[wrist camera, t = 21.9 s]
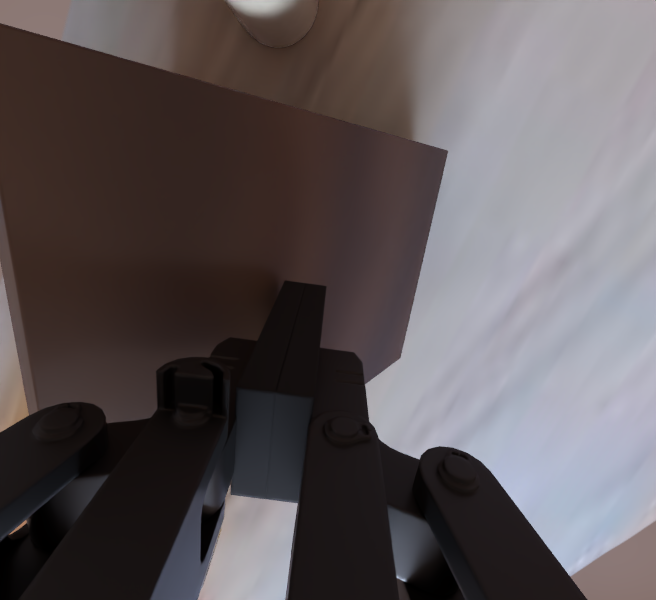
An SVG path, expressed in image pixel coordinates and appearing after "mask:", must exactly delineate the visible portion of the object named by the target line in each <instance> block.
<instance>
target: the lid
mask: <svg viewBox="0 0 656 600" xmlns="http://www.w3.org/2000/svg"><path fill="white" fill-rule="evenodd" d="M447 153H448V151H447V150H444V149H440V148H436V147H433V146H429V145H426V144H422V143H419V142H415V141H412V140H408V139H405V138H401V137H398V136H394V135H391V134H387V133H384V132H380V131H377V130H373V129H370V128H366V127H363V126H359V125H356V124H352V123H349V122H345V121H342V120H338V119H335V118H331V117H328V116H324V115H321V114H317V113H314V112H310V111H307V110H303V109H299V108H296V107H292V106H289V105H285V104H282V103H278V102H275V101H271V100H268V99H264V98H261V97H257V96H254V95H250V94H247V93H243V92H240V91H236V90H233V89H229V88H226V87H222V86H219V85H215V84H212V83H208V82H205V81H201V80H198V79H194V78H191V77H187V76H184V75H180V74H177V73H173V72H170V71H166V70H162V69H159V68H155V67H152V66H148V65H145V64H141V63H138V62H134V61H131V60H127V59H124V58H120V57H117V56H113V55H110V54H106V53H103V52H99V51H96V50H92V49H89V48H85V47H82V46H78V45H75V44H71V43H68V42H64V41H61V40H57V39H53V38H50V37H47V36H43V35H40V34H36V33H32V32H29V31H26V30H22V29H18V28H15V27H11V26H8V25H4V24H1V23H0V261H1V267H2V272H3V277H4V283H5V288H6V293H7V299H8V304H9V310H10V315H11V320H12V326H13V331H14V336H15V342H16V347H17V353H18V358H19V363H20V369H21V374H22V379H23V385H24V390H25V395H26V401H27V406H28V412H29V415H31V414H33V413H35V412H37V411H40V410H42V409H44V408H46V407H50V406H54V405H58V404H61V403H70V402H84V403H91V404H94V405H96V406H98V407H99V408H101V409H103V412H104V414H105V416H106V423H113V422H124V421H135V420H141V419H147V418H150V417H152V416H153V414H154V413H155V411H156V410H157V383H156V370H158V369H159V368H160V367H162V366H163V365H164V364H166V363H169V362H171V361H174V360H176V359H181V358H187V357H206V358H209V357H210V355H211V353H212V351H213V350H214V348H215V347H216V345H217V344H219V343H221V342H223V341H224V340H226V339H228V338H229V337H233V338H241V339H248V340H256V341H257V340H258V338H259V336H260V334H261V332H262V329H263V327H264V325H265V323H266V321H267V318H268V316H269V314H270V312H271V310H272V307H273V305H274V303H275V301H276V299H277V297H278V294H279V292H280V290H281V288H282V286H283V283H284V281H285V280H286V281H293V282H301V283H308V284H316V285H323V286H327V288H326V297H325V306H324V315H323V325H322V334H321V343H320V348H326V349H334V350H341V351H349V352H355V354H356V355H357V356H358V357H359V359H360V360H361V361H362V362H363V370H364V380H365V384H366V383H367V382H369V381H370V380H371V379H373V378H374V377H375V376H377V375H378V374H379V373H381V372H382V371H383V370H385V369H386V368H387V367H389V366H390V365H391V364H393V363H394V362H395V361H397V360H398V359H399V358H400V357H401V353H402V348H403V344H404V340H405V335H406V331H407V327H408V322H409V318H410V314H411V309H412V305H413V301H414V296H415V292H416V288H417V283H418V279H419V275H420V270H421V266H422V262H423V257H424V253H425V249H426V244H427V240H428V236H429V231H430V227H431V223H432V218H433V214H434V210H435V205H436V201H437V197H438V192H439V188H440V184H441V179H442V175H443V171H444V166H445V162H446V158H447ZM230 485H231V482H230ZM230 485H229V486H230Z"/></svg>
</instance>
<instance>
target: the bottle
mask: <svg viewBox="0 0 656 600" xmlns="http://www.w3.org/2000/svg"><path fill="white" fill-rule="evenodd" d="M224 1H225V2H226V4H227V5H228V6H229V8H230V9H231V10H232V12H233V13H234V14H235V16H236V17H237V19H238V20H239V21H240V23H241V24H242V25H243V27H244V28H245V29H246V31H247V32H248V33H249V34H250V35H251V36H252V37H253V38H254V39H255V40H257V41H258V42H260V43H262V44H264V45H267V46H270V47H286V46H290V45H292V44H294V43H296V42H298V41H299V40H300V39H302V38H303V37H304V36H305V35H306V34H307V32H308V31H309V30H310V28H311V26H312V24H313V23H314V20H315V18H316V14H317V11H318V4H319V0H224Z"/></svg>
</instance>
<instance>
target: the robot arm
mask: <svg viewBox="0 0 656 600" xmlns="http://www.w3.org/2000/svg"><path fill="white" fill-rule="evenodd" d="M326 288H327V286H323V285H316V284H308V283H301V282H293V281H286V280H285V281H284V283H283V286H282V288H281V290H280V292H279V294H278V297H277V299H276V301H275V303H274V305H273V307H272V310H271V312H270V314H269V316H268V318H267V321H266V323H265V325H264V327H263V329H262V332H261V334H260V336H259V338H258V340H257V341H256V340H248V339H241V338H233V337H229V338H228V339H226V340H224V341H223V342H221V343H219V344H217V345H216V347H215V348H214V350H213V351H212V353H211V355H210V357H209V358H206V357H187V358H181V359H176V360H174V361H171V362H169V363H166V364H164V365H163V366H162V367H160V368H159V369H158V370H156V383H157V410H156V411H155V413H154V414H153V416H152V417H150V418H147V419H141V420H135V421H124V422H113V423H106V416H105V414H104V412H103V409H101V408H99V407H98V406H96V405H94V404H91V403H84V402H70V403H61V404H58V405H54V406H50V407H46V408H44V409H42V410H40V411H37V412H35V413H33V414H31V415H29V416H27V417H26V418H24V419H22V420H21V421H19V422H17V423H16V424H14V425H12V426H11V427H9V428H7V429H6V430H4V431H2V432H1V433H0V600H197V599H198V596H199V593H200V590H201V587H202V584H203V581H204V578H205V574H206V571H207V568H208V565H209V562H210V559H211V556H212V553H213V550H214V547H215V543H216V540H217V537H218V534H219V531H220V528H221V525H222V522H223V519H224V509H225V497H226V494H227V491H228V488H229V485H230V482H231V495H237V496H245V497H253V498H261V499H269V500H277V501H285V502H293V503H298V506H297V514H296V521H295V528H294V535H293V542H292V550H291V560H290V568H289V575H288V583H287V591H286V599H285V600H587V599H586V597H585V596H584V595H583V593H582V592H581V591H580V589H579V588H578V587H577V585H576V584H575V583H574V581H573V580H572V579H571V577H570V576H569V575H568V573H567V572H566V571H565V569H564V568H563V567H562V565H561V564H560V563H559V561H558V560H557V559H556V558H555V556H554V555H553V554H552V552H551V551H550V550H549V548H548V547H547V546H546V544H545V543H544V542H543V540H542V539H541V538H540V536H539V535H538V534H537V532H536V531H535V530H534V528H533V527H532V526H531V524H530V523H529V522H528V520H527V519H526V518H525V516H524V515H523V514H522V512H521V511H520V510H519V508H518V507H517V506H516V504H515V503H514V502H513V501H512V499H511V498H510V497H509V495H508V494H507V493H506V491H505V490H504V489H503V487H502V486H501V485H500V483H499V482H498V481H497V479H496V478H495V477H494V475H493V474H492V473H491V472H490V471H489V470H488V469H487V468H486V466H485V465H484V464H483V463H482V462H481V461H479V460H477V459H476V458H474V457H473V456H471V455H470V454H468V453H466V452H463V451H460V450H458V449H455V448H450V447H440V446H439V447H435V448H431V449H428V450H427V451H426V452H425V453H423V454H422V455H421V458H420V460H419V459H416V458H413V457H411V456H408V455H406V454H403V453H400V452H398V451H396V450H394V449H392V448H390V447H389V446H387V445H386V444H384V443H383V442H381V441H380V440H379V438H378V435H377V433H376V430H375V428H374V426H373V425H372V424H371V423H370V422H369V417H368V407H367V398H366V389H365V380H364V370H363V362H362V361H361V360H360V359H359V357H358V356H357V355H356V354H355V352H349V351H341V350H334V349H326V348H320V343H321V334H322V325H323V315H324V306H325V297H326ZM25 520H27V523H26V524H25V525H24V526H23V527H22V528H20V529H19V530H17V531H16V532H14V533H12V534H11V535H8V534H10V533H11V532H12V531H13V530H14V529H15V528H17V527H18V526H19V525H20V524H21V523H23V522H24V521H25Z"/></svg>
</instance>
